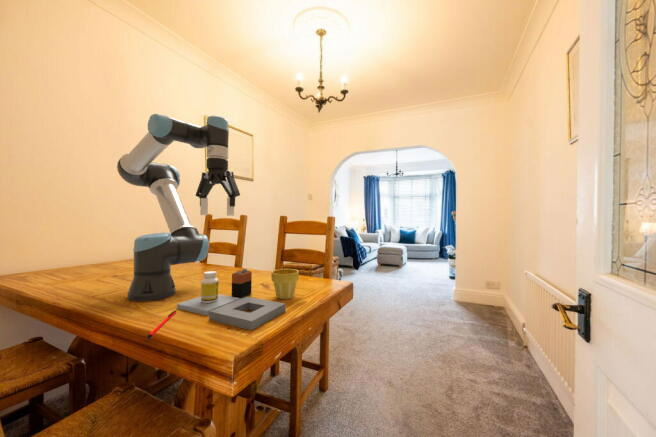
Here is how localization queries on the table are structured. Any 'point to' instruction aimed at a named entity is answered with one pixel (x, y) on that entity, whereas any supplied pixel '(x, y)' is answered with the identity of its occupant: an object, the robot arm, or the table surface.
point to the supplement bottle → (209, 287)
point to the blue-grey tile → (205, 304)
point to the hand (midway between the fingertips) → (216, 215)
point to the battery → (241, 283)
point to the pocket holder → (240, 318)
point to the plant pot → (285, 282)
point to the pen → (161, 325)
